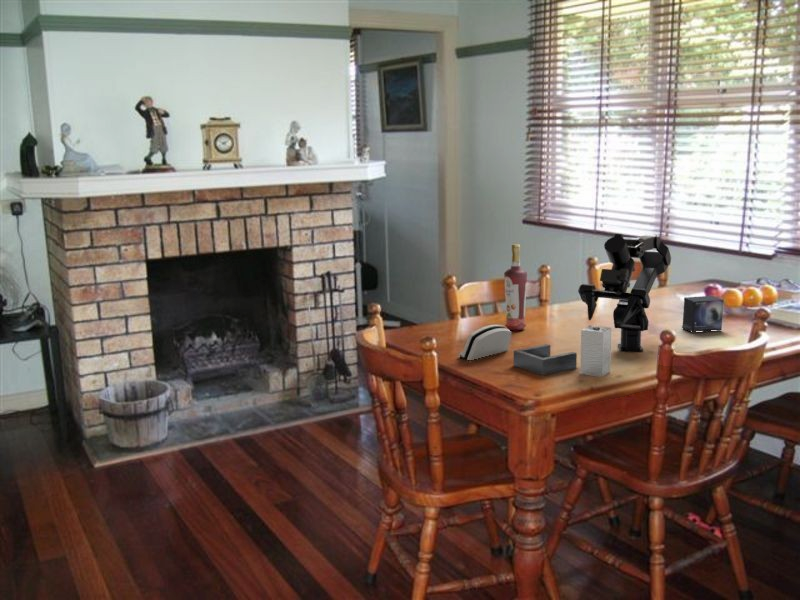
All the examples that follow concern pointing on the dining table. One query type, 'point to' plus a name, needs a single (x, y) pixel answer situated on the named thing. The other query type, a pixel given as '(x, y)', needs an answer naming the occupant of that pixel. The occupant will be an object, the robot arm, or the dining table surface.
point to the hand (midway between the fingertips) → (605, 321)
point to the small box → (702, 313)
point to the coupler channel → (543, 360)
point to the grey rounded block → (486, 342)
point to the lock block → (595, 351)
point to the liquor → (515, 292)
